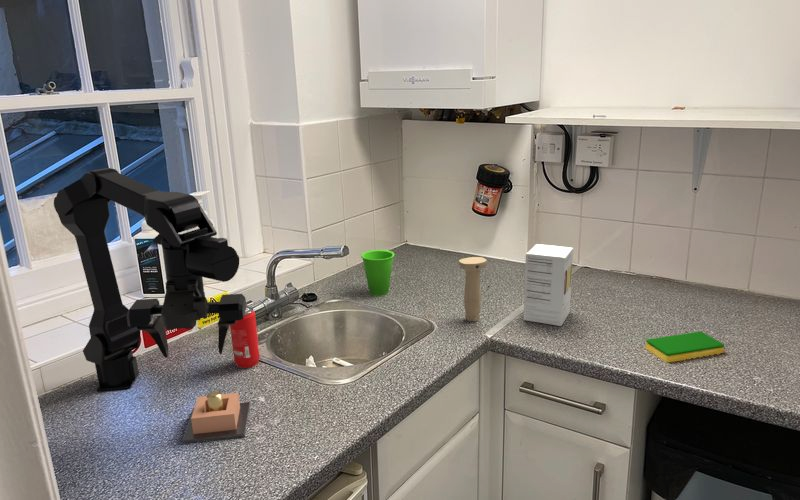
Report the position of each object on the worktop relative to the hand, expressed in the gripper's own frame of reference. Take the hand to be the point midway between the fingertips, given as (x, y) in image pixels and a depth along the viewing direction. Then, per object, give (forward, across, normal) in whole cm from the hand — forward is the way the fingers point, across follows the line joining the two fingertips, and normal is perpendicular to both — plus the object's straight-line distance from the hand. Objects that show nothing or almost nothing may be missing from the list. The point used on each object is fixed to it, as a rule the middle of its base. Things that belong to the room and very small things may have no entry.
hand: (193, 354), depth 104 cm
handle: (+11, +58, +30) cm, 67 cm away
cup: (+12, +38, +53) cm, 66 cm away
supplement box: (+10, +76, +28) cm, 82 cm away
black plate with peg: (+11, +4, -5) cm, 13 cm away
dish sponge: (+10, +98, +5) cm, 98 cm away
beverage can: (+12, +7, +17) cm, 22 cm away
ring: (+11, +4, -5) cm, 12 cm away
